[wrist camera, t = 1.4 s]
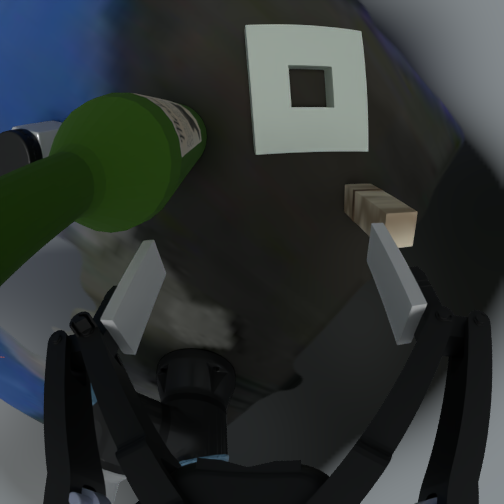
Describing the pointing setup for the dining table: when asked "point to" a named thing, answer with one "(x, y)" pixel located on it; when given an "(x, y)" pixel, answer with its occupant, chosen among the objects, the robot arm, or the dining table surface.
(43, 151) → the jar
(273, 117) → the plinth
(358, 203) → the peg
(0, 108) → the dining table surface
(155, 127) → the wine bottle
